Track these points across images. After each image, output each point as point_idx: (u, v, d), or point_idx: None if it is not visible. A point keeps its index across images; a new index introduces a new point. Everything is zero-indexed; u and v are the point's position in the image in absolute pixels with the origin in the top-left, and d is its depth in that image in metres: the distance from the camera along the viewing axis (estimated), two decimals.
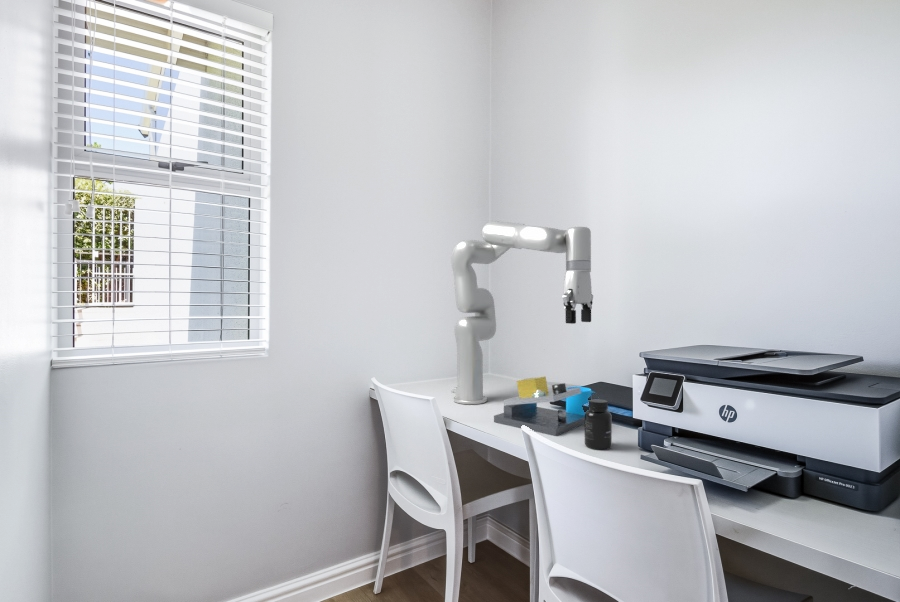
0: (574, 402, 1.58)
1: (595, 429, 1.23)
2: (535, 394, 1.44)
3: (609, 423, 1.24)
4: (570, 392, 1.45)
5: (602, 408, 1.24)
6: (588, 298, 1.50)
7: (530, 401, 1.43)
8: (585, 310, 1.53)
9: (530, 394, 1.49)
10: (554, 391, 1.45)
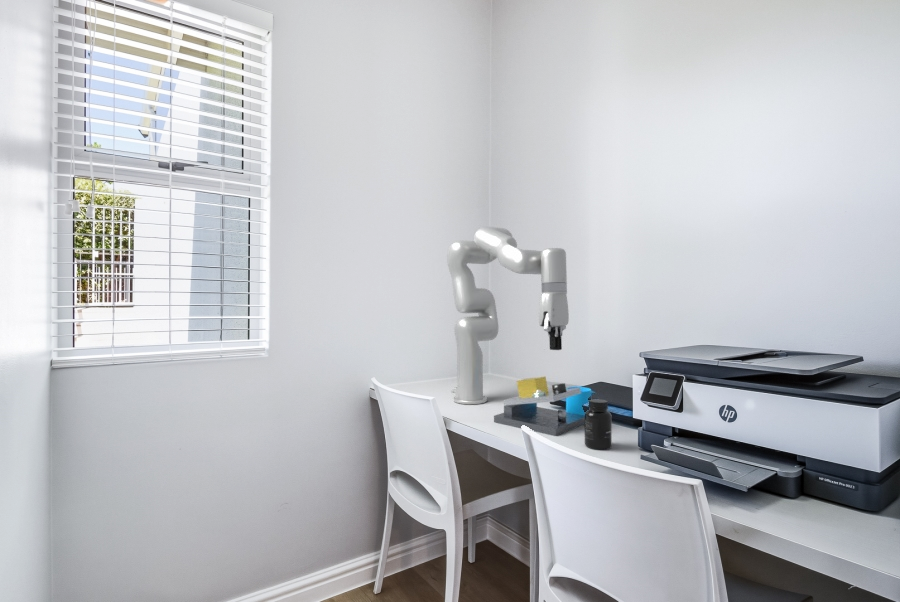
0: (574, 402, 1.58)
1: (595, 429, 1.23)
2: (535, 394, 1.44)
3: (609, 423, 1.24)
4: (570, 392, 1.45)
5: (602, 408, 1.24)
6: (565, 320, 1.46)
7: (530, 401, 1.43)
8: None
9: (530, 394, 1.49)
10: (554, 391, 1.45)
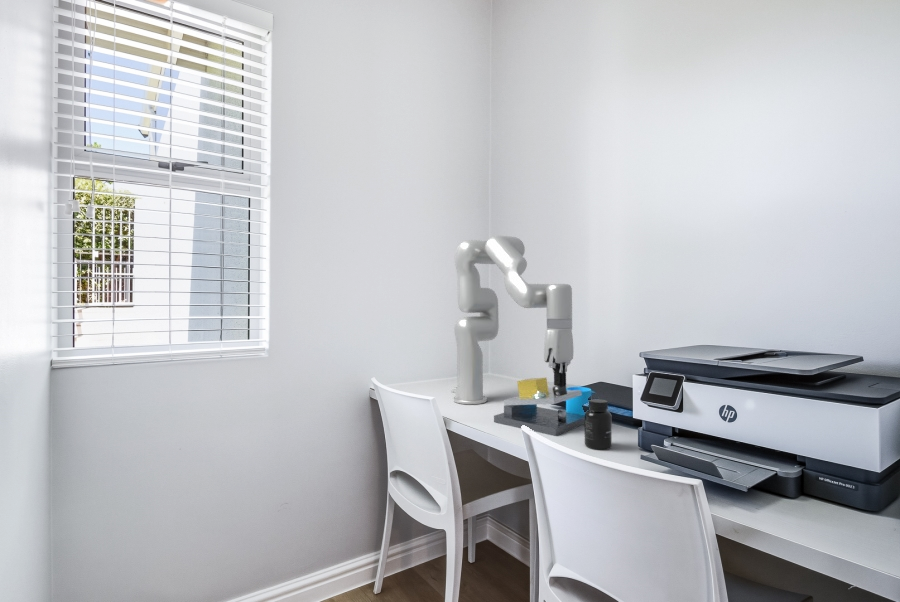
0: (574, 402, 1.58)
1: (595, 429, 1.23)
2: (535, 395, 1.44)
3: (609, 423, 1.24)
4: (570, 394, 1.45)
5: (602, 408, 1.24)
6: (570, 356, 1.46)
7: (530, 402, 1.43)
8: None
9: (530, 395, 1.49)
10: (555, 393, 1.45)
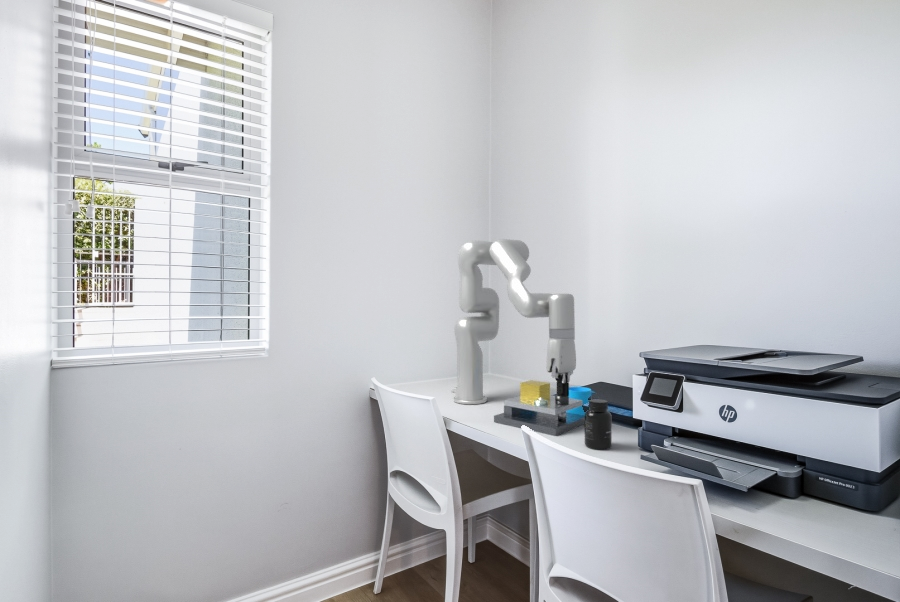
0: None
1: (595, 429, 1.23)
2: (537, 402, 1.43)
3: (609, 423, 1.24)
4: (572, 405, 1.45)
5: (602, 408, 1.24)
6: (573, 366, 1.45)
7: (531, 408, 1.43)
8: None
9: (532, 399, 1.49)
10: (556, 402, 1.44)
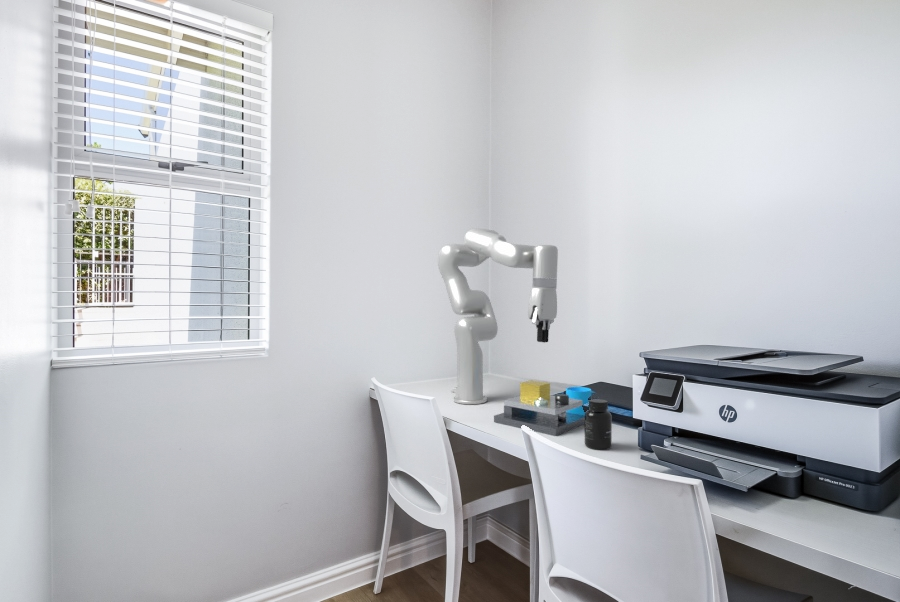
0: None
1: (595, 429, 1.23)
2: (537, 402, 1.43)
3: (609, 423, 1.24)
4: (572, 405, 1.45)
5: (602, 408, 1.24)
6: (553, 314, 1.54)
7: (531, 408, 1.43)
8: None
9: (532, 399, 1.49)
10: (556, 402, 1.44)
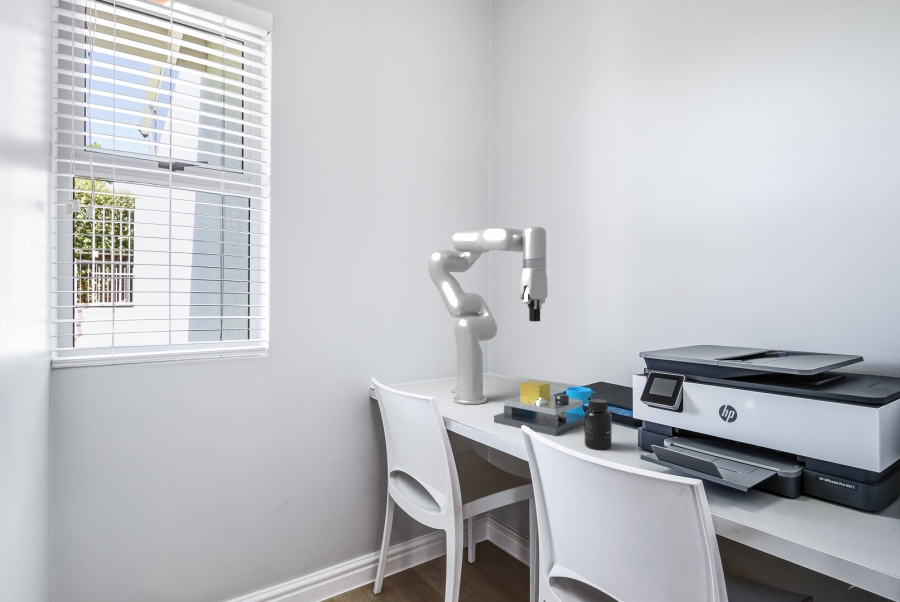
0: None
1: (595, 429, 1.23)
2: (537, 402, 1.43)
3: (609, 423, 1.24)
4: (572, 405, 1.45)
5: (602, 408, 1.24)
6: (544, 294, 1.59)
7: (531, 408, 1.43)
8: None
9: (532, 399, 1.49)
10: (556, 402, 1.44)
